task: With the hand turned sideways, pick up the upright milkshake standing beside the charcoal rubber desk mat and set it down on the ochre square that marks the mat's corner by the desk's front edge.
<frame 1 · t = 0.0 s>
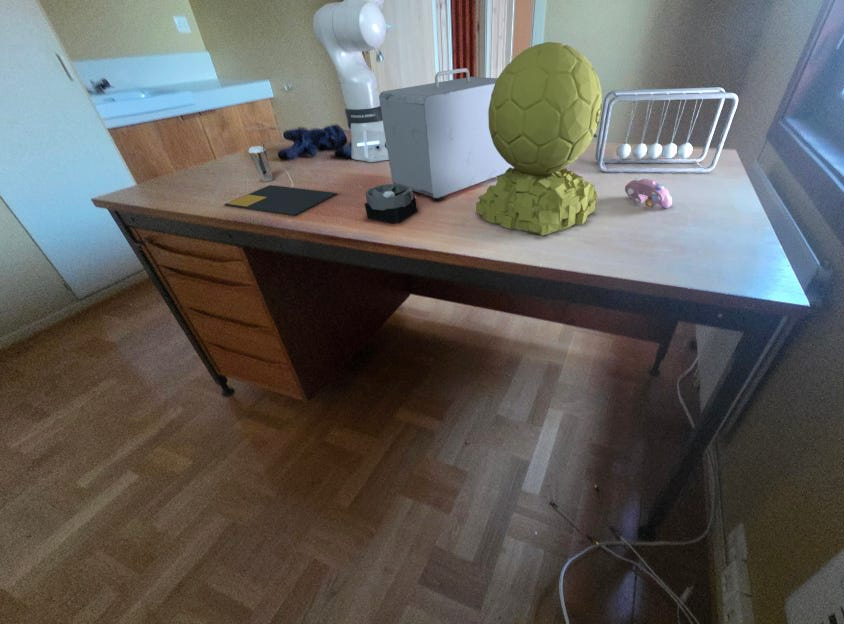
video game controller: (645, 206, 88), on the table
newton's cradle: (650, 168, 109), on the table
cpu cooler: (392, 216, 91), on the table
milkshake: (268, 180, 117), on the table
vintage electronic device: (455, 182, 107), on the table
trophy: (536, 215, 87), on the table
desk mat: (281, 200, 102), on the table
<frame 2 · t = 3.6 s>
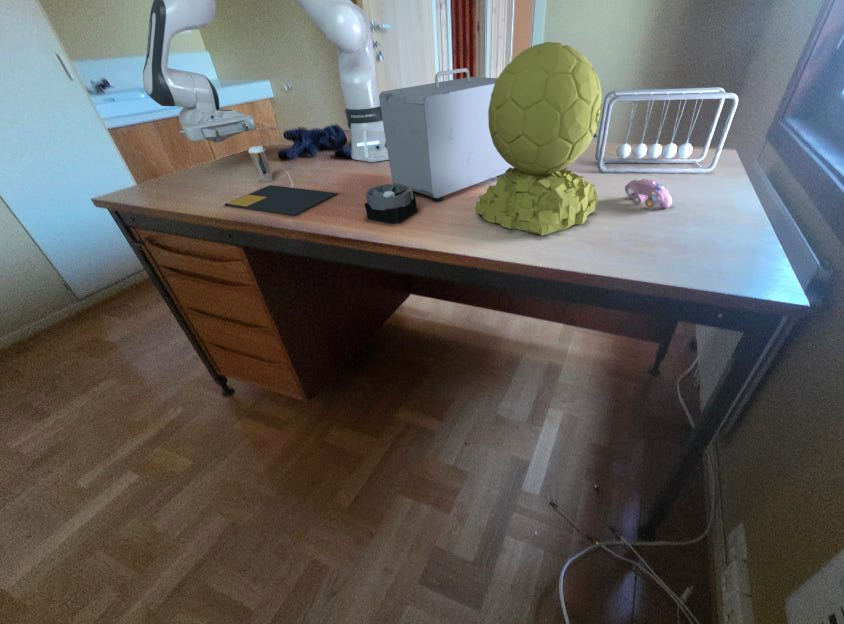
hand: (232, 130, 115), 12 cm above the table, tool horizontal, fingers open, 8 cm apart
nothing on the table moved.
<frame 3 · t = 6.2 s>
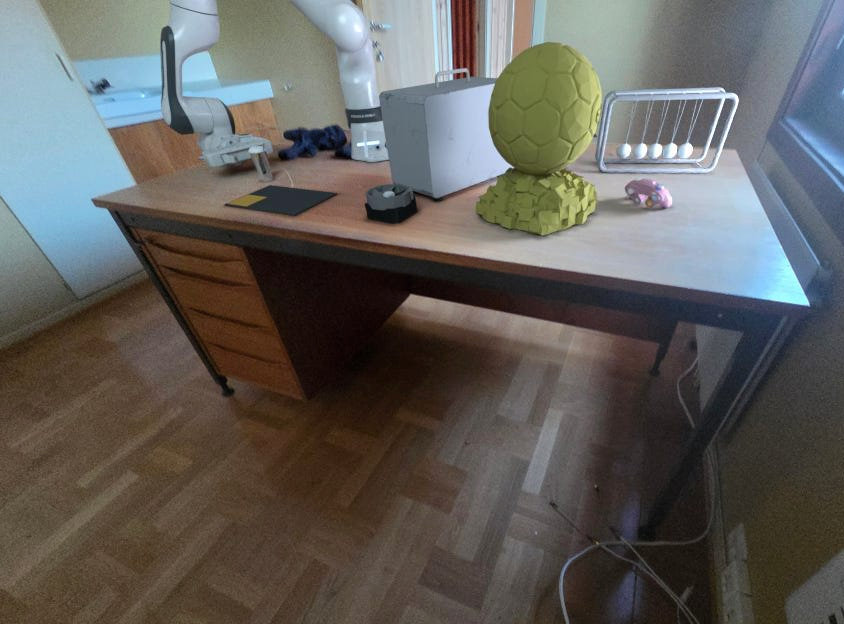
hand: (250, 155, 116), 6 cm above the table, tool horizontal, fingers open, 8 cm apart
nothing on the table moved.
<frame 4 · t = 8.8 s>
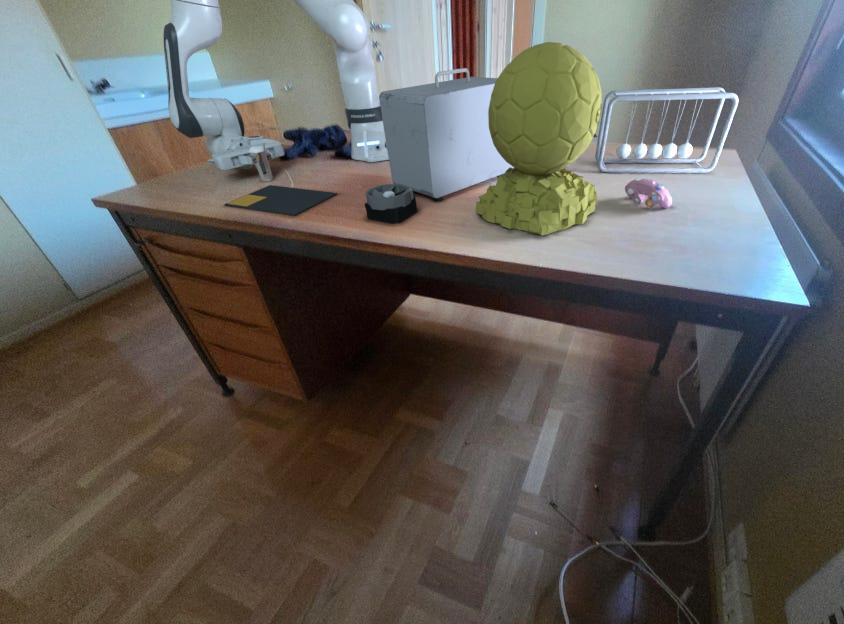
hand: (262, 158, 112), 6 cm above the table, tool horizontal, fingers closed on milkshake, 4 cm apart
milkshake: (268, 180, 117), on the table, touching gripper
everything else where it was.
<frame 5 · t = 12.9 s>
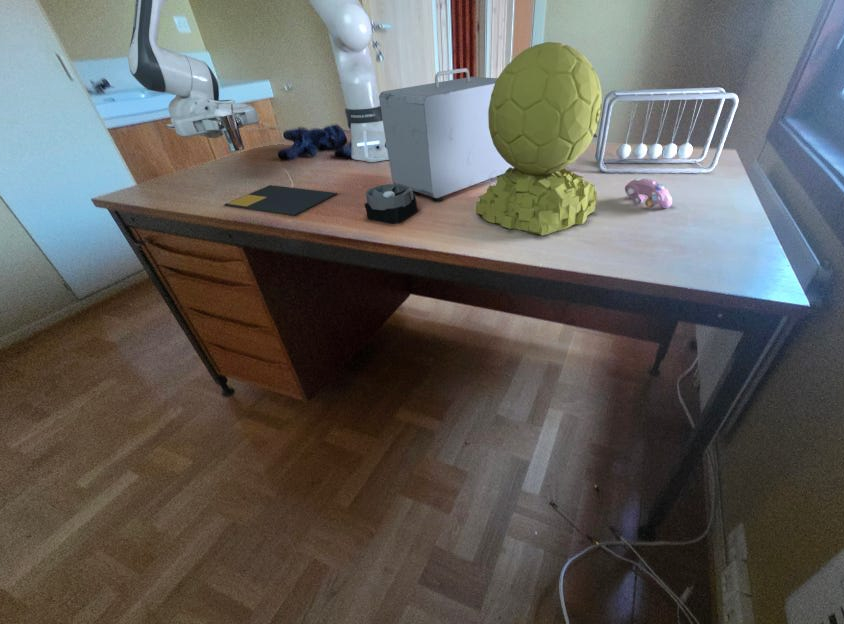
hand: (230, 123, 96), 17 cm above the table, tool horizontal, fingers closed on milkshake, 4 cm apart
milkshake: (239, 150, 101), point 11 cm above the table, touching gripper
everything else where it was.
when the fingers open (7 cm above the table, at t = 17.2 s): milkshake stays where it is, resting on desk mat.
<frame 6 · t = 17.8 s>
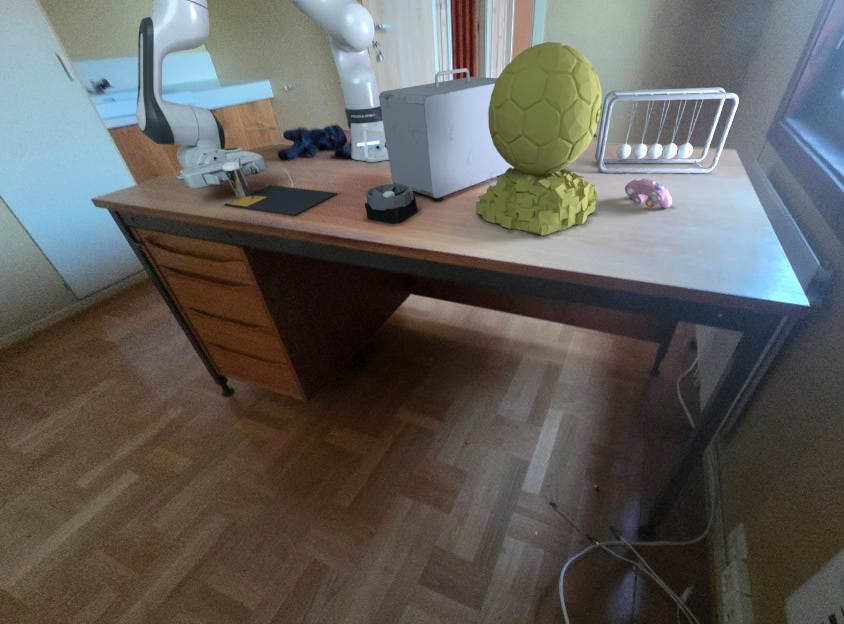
hand: (238, 175, 97), 7 cm above the table, tool horizontal, fingers open, 8 cm apart
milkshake: (247, 200, 102), resting on desk mat
everything else where it was.
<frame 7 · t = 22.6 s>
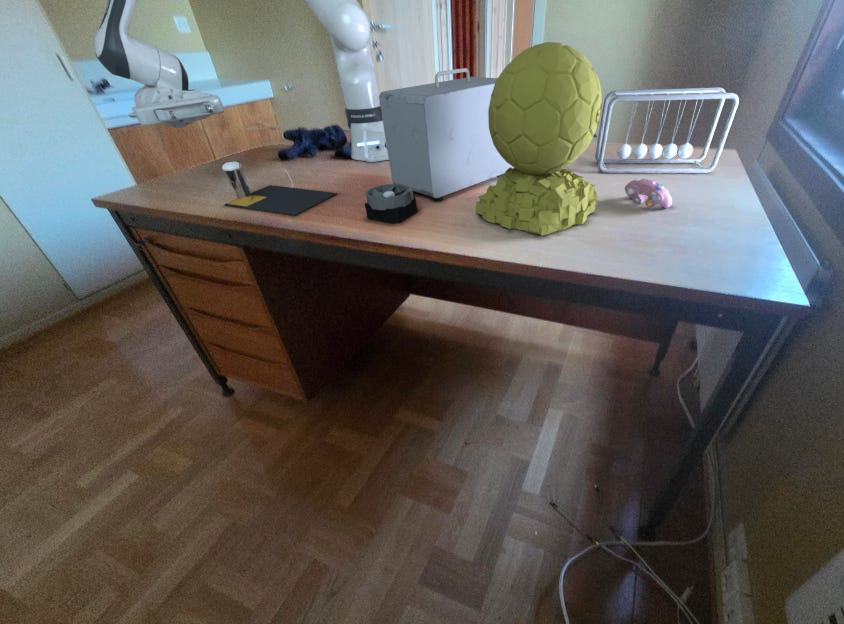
hand: (192, 112, 96), 20 cm above the table, tool horizontal, fingers open, 8 cm apart
nothing on the table moved.
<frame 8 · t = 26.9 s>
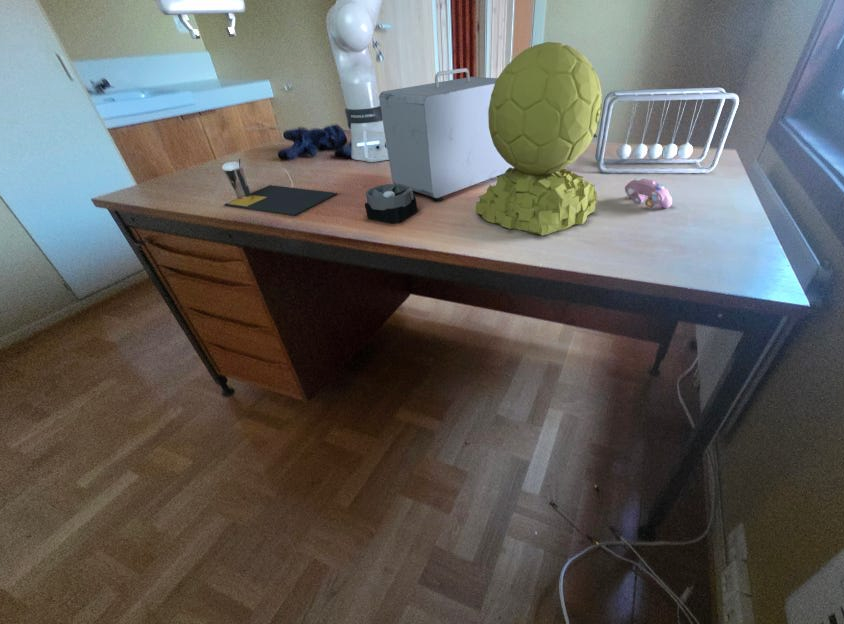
hand: (215, 37, 101), 33 cm above the table, tool pointing down, fingers open, 8 cm apart
nothing on the table moved.
at the end: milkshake inside the target area on the desk mat (0.1 cm from its centre), point 0.3 cm above the desk mat's base; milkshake tilted 0°; the gripper is holding nothing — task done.
